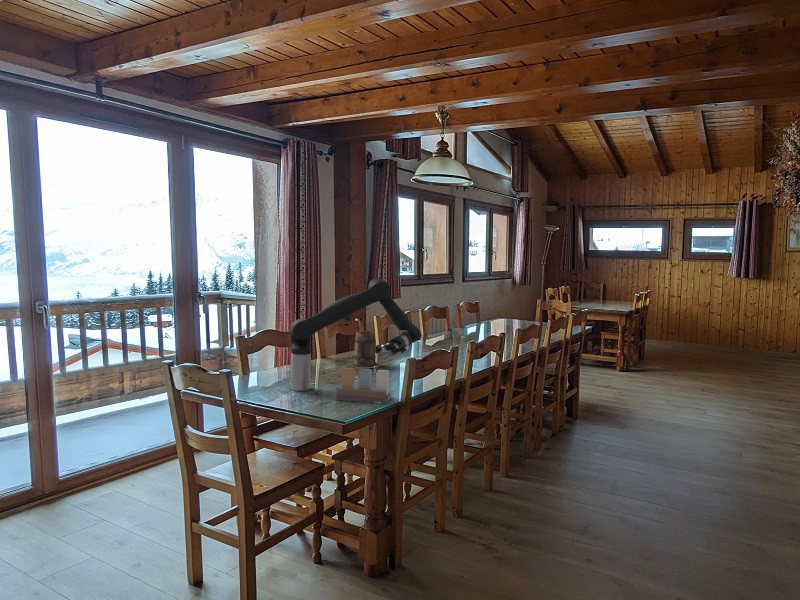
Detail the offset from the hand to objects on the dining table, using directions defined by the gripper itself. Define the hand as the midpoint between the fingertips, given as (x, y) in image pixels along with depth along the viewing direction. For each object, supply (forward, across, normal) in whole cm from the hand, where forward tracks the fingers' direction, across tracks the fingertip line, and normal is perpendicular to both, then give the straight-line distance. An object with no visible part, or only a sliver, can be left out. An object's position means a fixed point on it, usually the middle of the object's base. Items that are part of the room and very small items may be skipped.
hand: (384, 352), depth 249 cm
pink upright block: (+11, -15, +16) cm, 24 cm away
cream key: (+7, +1, +18) cm, 19 cm away
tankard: (-52, -39, +24) cm, 70 cm away
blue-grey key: (+9, -7, +17) cm, 20 cm away
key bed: (+11, -7, +19) cm, 23 cm away
